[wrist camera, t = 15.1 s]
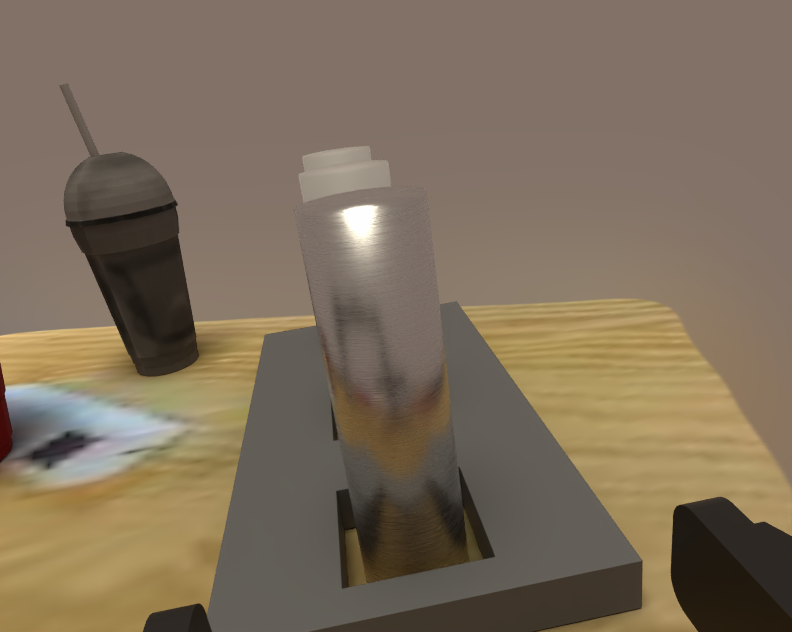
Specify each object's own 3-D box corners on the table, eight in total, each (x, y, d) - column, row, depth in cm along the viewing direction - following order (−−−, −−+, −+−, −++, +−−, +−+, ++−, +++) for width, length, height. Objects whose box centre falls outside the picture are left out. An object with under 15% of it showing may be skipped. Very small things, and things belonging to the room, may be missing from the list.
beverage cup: (228, 360, 43) (153, 70, 36) (125, 396, 40) (19, 83, 33) (203, 334, 49) (134, 80, 42) (111, 363, 46) (19, 93, 39)
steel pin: (369, 616, 21) (291, 222, 16) (361, 537, 24) (295, 199, 19) (480, 593, 21) (438, 198, 16) (455, 518, 25) (414, 181, 20)
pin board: (214, 701, 18) (65, 275, 13) (270, 359, 43) (225, 162, 38) (641, 607, 19) (650, 180, 14) (459, 326, 44) (439, 131, 39)
